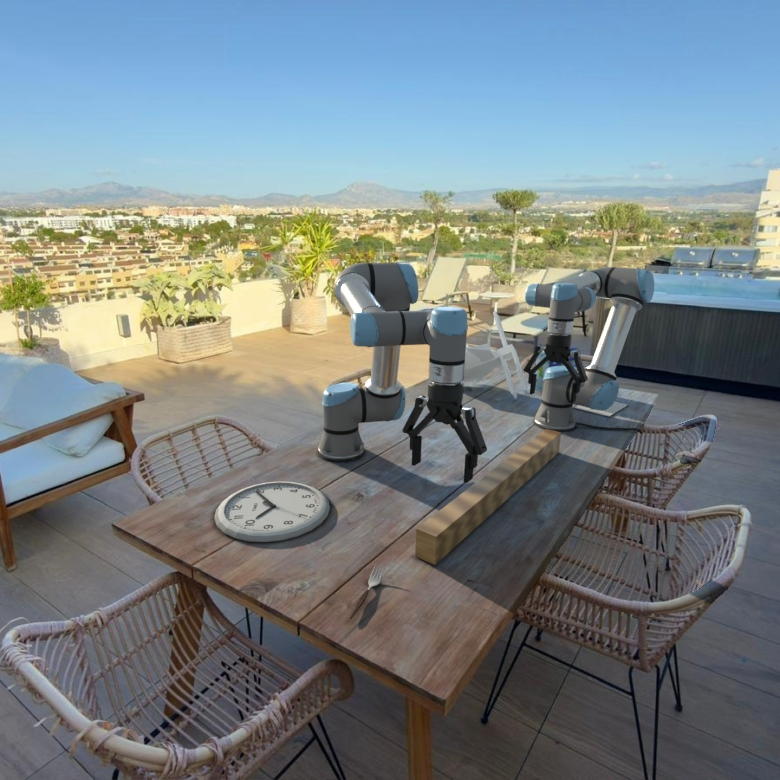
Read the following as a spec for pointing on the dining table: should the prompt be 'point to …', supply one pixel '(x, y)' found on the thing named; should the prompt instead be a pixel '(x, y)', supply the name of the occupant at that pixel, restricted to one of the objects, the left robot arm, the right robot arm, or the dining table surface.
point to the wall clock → (272, 511)
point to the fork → (372, 582)
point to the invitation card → (610, 411)
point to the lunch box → (548, 364)
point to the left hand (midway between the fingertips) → (441, 471)
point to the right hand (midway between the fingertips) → (552, 397)
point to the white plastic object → (492, 361)
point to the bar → (483, 498)
